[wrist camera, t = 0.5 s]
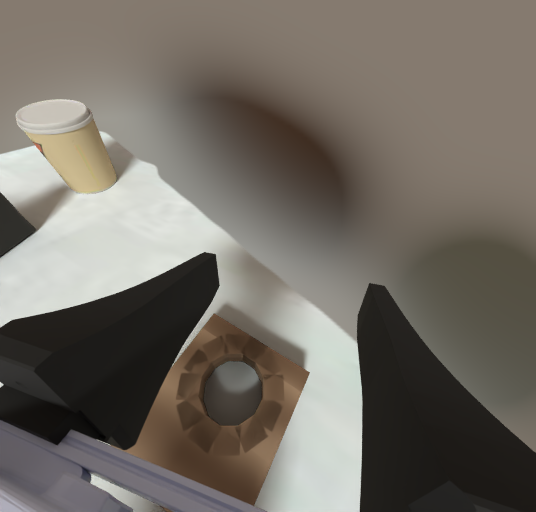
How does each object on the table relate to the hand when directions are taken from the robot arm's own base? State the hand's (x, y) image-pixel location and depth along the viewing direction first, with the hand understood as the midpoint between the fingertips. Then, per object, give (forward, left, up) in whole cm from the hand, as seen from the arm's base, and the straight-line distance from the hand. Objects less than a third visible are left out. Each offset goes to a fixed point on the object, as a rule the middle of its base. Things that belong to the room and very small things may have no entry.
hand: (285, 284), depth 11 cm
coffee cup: (+12, +44, -19) cm, 49 cm away
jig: (-5, +2, -19) cm, 20 cm away
